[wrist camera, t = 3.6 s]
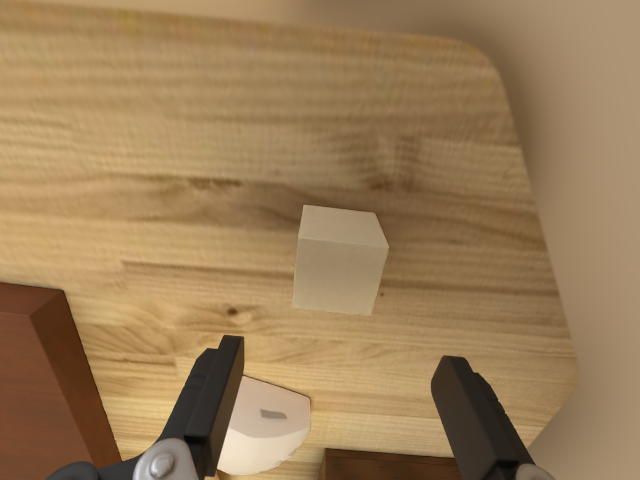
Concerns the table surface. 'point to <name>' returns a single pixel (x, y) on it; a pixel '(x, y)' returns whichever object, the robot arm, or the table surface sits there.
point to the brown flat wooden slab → (46, 389)
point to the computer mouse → (263, 428)
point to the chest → (385, 466)
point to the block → (338, 261)
